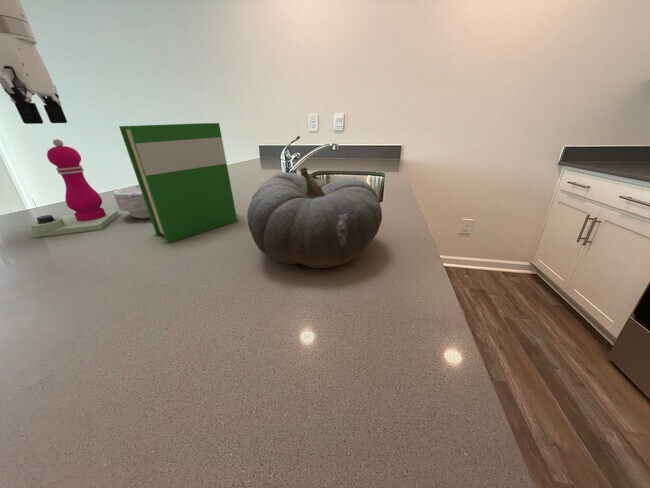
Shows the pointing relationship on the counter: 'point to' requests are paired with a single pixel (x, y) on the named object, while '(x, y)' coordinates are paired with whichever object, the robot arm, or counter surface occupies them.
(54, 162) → the pepper mill
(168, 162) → the hardback book
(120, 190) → the paper bowls
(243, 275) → the counter surface
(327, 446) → the counter surface
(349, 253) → the gourd
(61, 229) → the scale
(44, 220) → the button
